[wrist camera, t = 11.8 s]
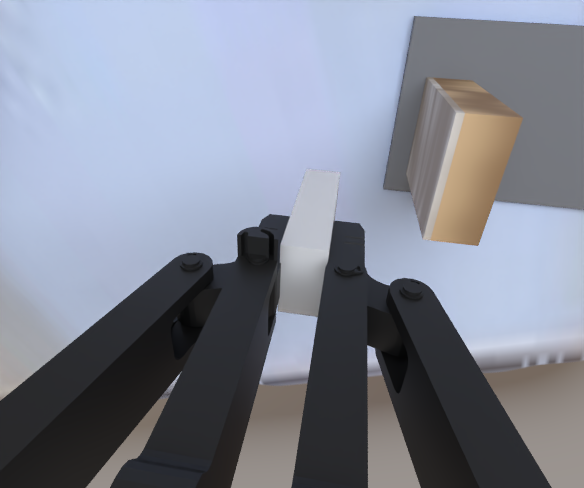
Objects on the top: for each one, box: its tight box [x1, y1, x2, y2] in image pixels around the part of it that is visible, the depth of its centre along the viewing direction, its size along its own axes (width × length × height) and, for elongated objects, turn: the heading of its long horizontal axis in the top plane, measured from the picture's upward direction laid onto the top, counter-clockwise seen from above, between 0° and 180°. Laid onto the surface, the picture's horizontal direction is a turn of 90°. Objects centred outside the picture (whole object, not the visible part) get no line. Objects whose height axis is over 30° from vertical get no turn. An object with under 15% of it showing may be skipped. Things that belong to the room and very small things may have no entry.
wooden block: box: [406, 77, 523, 246], centre depth 24 cm, size 3×7×10 cm, turn 178°
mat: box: [383, 16, 584, 210], centre depth 28 cm, size 18×12×1 cm, turn 87°
